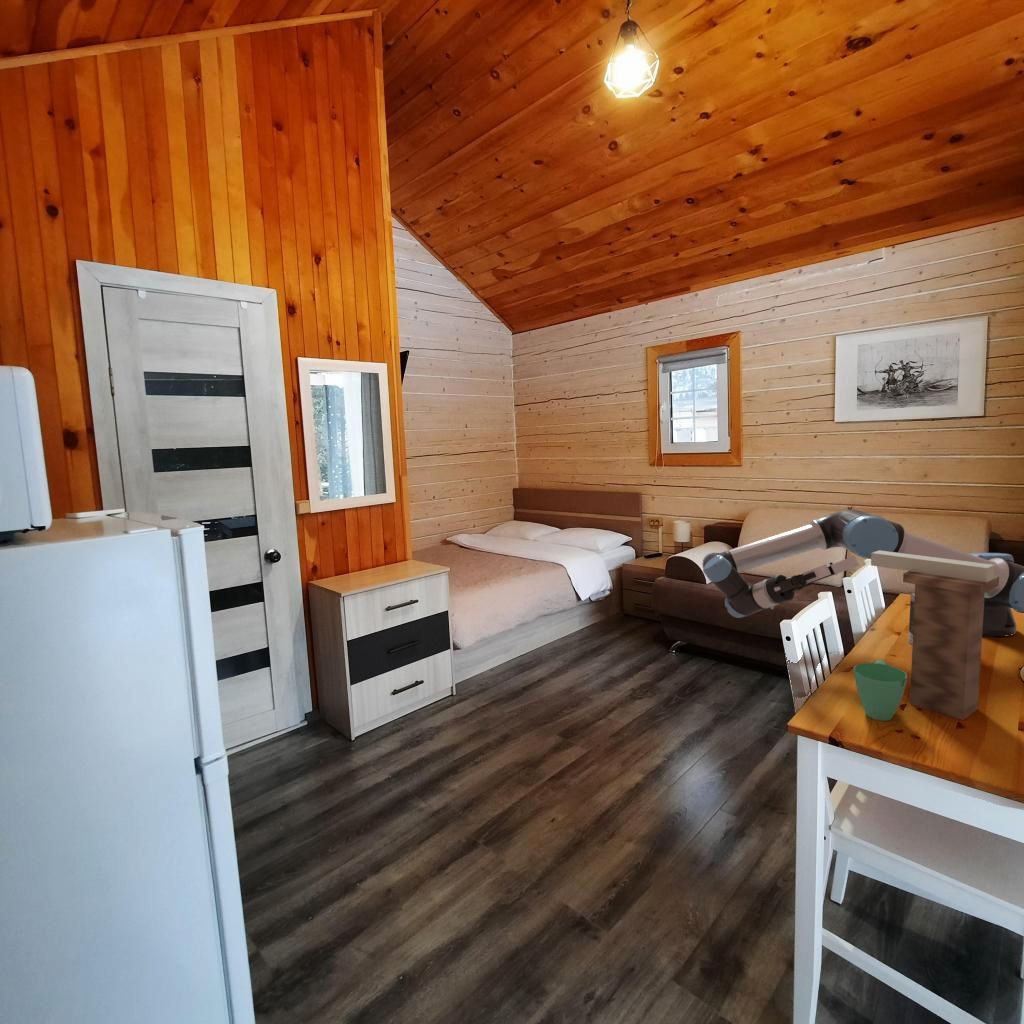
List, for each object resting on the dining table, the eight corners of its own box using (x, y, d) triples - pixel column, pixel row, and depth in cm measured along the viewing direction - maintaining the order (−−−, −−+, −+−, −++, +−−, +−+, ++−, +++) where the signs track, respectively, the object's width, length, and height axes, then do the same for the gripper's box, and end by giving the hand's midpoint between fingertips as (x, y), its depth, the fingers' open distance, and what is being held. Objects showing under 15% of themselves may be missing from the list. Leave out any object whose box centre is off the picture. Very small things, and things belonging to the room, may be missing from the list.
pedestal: (898, 701, 131) (903, 573, 127) (917, 689, 137) (923, 565, 133) (972, 725, 120) (981, 585, 116) (990, 710, 125) (999, 576, 121)
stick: (870, 565, 136) (871, 552, 135) (879, 562, 138) (879, 550, 138) (986, 582, 118) (987, 568, 117) (993, 578, 120) (994, 564, 119)
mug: (906, 730, 119) (908, 684, 118) (851, 720, 124) (852, 675, 123) (904, 701, 131) (906, 659, 130) (854, 693, 137) (855, 652, 135)
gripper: (805, 595, 168) (874, 570, 151) (753, 612, 154) (822, 587, 138) (793, 571, 170) (859, 544, 154) (741, 586, 157) (808, 558, 140)
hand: (842, 564), depth 146 cm, fingers open, 13 cm apart
